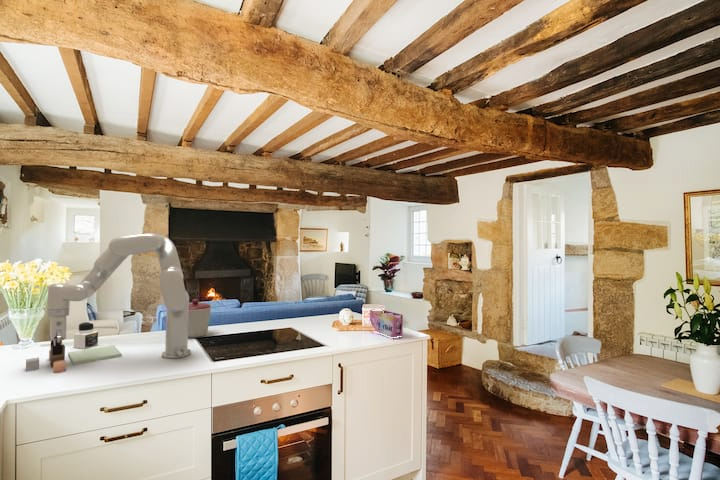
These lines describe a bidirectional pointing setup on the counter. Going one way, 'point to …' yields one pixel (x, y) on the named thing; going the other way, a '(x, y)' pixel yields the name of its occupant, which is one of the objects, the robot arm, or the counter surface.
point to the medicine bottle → (86, 336)
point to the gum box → (387, 322)
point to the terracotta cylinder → (59, 366)
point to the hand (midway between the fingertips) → (56, 352)
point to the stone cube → (32, 364)
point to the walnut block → (56, 356)
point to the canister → (198, 318)
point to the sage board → (94, 354)
